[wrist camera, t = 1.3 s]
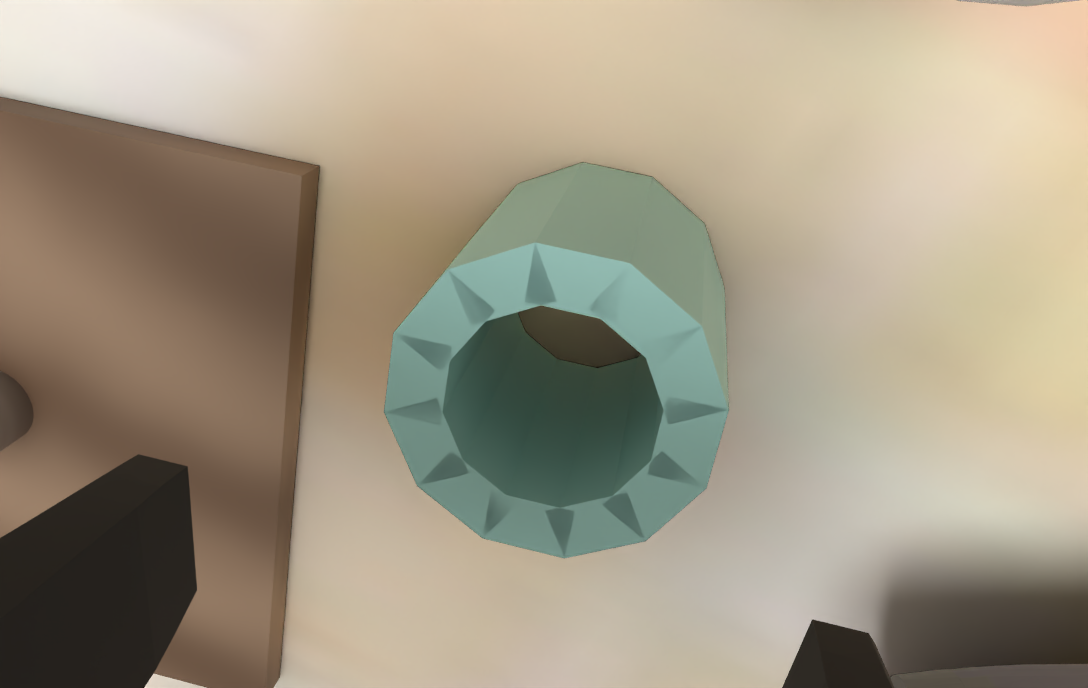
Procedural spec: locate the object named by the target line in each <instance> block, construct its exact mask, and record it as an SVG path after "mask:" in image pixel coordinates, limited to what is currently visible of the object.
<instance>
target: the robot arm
mask: <svg viewBox="0 0 1088 688" xmlns="http://www.w3.org/2000/svg"><path fill="white" fill-rule="evenodd" d="M196 591H197V581H196V568H195V554H194V541H193V528H192V514H191V501H190V488H189V474H188V466H185V465H181V464H176V463H172V462H168V461H164V460H160V459H156V458H152V457H148V456H144V455H140V454H138V455H136V456H134V457H133V458H131V459H129V460H128V461H126V462H124V463H122V464H121V465H119V466H117V467H116V468H114V469H112V470H111V471H109V472H108V473H106V474H104V475H103V476H101V477H99V478H98V479H96V480H94V481H93V482H91V483H89V484H88V485H86V486H85V487H83V488H81V489H80V490H78V491H76V492H75V493H73V494H71V495H70V496H68V497H67V498H65V499H63V500H62V501H60V502H58V503H57V504H55V505H54V506H52V507H50V508H49V509H47V510H45V511H44V512H42V513H40V514H39V515H37V516H36V517H34V518H32V519H31V520H29V521H27V522H26V523H24V524H22V525H21V526H19V527H18V528H16V529H14V530H13V531H11V532H9V533H7V534H6V535H4V536H2V537H1V538H0V688H144V687H145V685H146V684H147V682H148V681H149V679H150V678H151V676H152V675H153V673H154V672H155V670H156V669H157V667H158V665H159V663H160V661H161V659H162V657H163V655H164V654H165V652H166V650H167V648H168V646H169V644H170V642H171V641H172V639H173V637H174V635H175V633H176V631H177V629H178V627H179V625H180V623H181V621H182V619H183V617H184V615H185V613H186V611H187V609H188V607H189V605H190V603H191V601H192V599H193V597H194V595H195V593H196ZM782 688H894V686H893V683H892V681H891V679H890V677H889V674H888V672H887V670H886V668H885V665H884V663H883V661H882V658H881V656H880V654H879V652H878V649H877V647H876V645H875V643H874V641H873V640H872V638H871V636H870V635H869V633H865V632H861V631H857V630H853V629H849V628H845V627H841V626H837V625H833V624H829V623H825V622H820V621H816V620H812V621H811V624H810V626H809V628H808V630H807V633H806V635H805V637H804V640H803V642H802V644H801V646H800V649H799V651H798V653H797V655H796V658H795V660H794V662H793V665H792V667H791V669H790V671H789V674H788V676H787V678H786V680H785V683H784V685H783V687H782Z"/></svg>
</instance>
